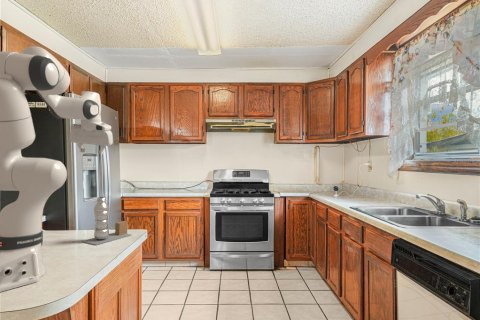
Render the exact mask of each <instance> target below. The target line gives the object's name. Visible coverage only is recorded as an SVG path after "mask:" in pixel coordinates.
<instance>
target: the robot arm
mask: <svg viewBox="0 0 480 320" xmlns="http://www.w3.org/2000/svg"><path fill="white" fill-rule="evenodd" d="M70 84H71V77H70V74H69V72H68V70H67V69H66V68H65V67H64V66H63V65H62V63H61V62H60V61H59V60H58V58H56V57H55V56H54V55H53V54H51V53H50V52H49V51H48V50H46V49H45V48H43V47H41V46H36V45H31V46H27V47H25V48H23V50H22V51H21V52H20V53H19V52H17V51H0V191H4V192H7V191H9V192H11V191H13V192H14V191H15V192H16V191H17V192H19V193H18V197H17V199H16V200H15V201H13V202H11V203H9V204H7V205H5V206H4V207H3V208H2V209H0V210H1V211H0V293H1V292H2V293H3V292H6V291H8V290H12V289H15V288H19V287H22V286H26V285H30V284H34V283H37V282H39V281H40V279H41V278H42V277H43V276H44V275H45V274H46V273H47V270H46V266H45V263H44V257H43V249H42V246H43V241H44V231H43V230H42V225H43V214H44V208H45V205H46V203H47V201H48V199H49V197H51V195H52V194H53V193H54V192H56V191H57V190H59V189H60V188H62V187H63V185H64V184H65V182H66V180H67V178H68V172H67V171H68V170H67V168H66V166H65V164H64V163H63V162H62V161H60V160H57V159H53V158H47V157H25V156H22V150H23V149H25V148H27V147H29V146H30V145H32V144H33V143H34V141H35V139H36V132H35V127H34V123H33V118H32V112H31V109H30V105H29V103H28V100H27V97H26V95H25V92H26V91H35V92H36V93H37V95H38V96H39V97H40V98H41V100H42V101H43V102H44V104H45V105H46V106H47V107H48V110H49V112H50V114H51V115H52V116H53V117H54V118H56V119H69V120H80V123H73V124H71V125H70V133H69V141H70V142H71V143H74V144H77V147H78V148H79V153H85V151H86V149H85V148H84V146H83V144H86V145H95V146H100V149H99V150H98V155H103V154H104V150H105V148H106V147H110V146H112V145H113V144H114V137H113V132H112V131H111V130H112V126H111V124H110V125H109V124H107V123H105V122H103V121H102V117H101V113H102V104H101V103H102V101H101V96H100V94H99V93H98V92H97V91H96V92H95V91H92V90H82V91H81V93H80V94H81V95H80V96H79V97H73V96H64V95H63V96H62V95H61V94H63V93H65V92H66V91H67V90H68V89H69V86H70Z"/></svg>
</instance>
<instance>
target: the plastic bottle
mask: <svg viewBox="0 0 480 320" xmlns="http://www.w3.org/2000/svg"><path fill="white" fill-rule="evenodd" d="M96 202H97V203H96V204H95V205H94V207H93V212H94V218H95V219H94V220H95V221H94V222H95V223H94V232H93V238H95V239H98V240H100V239H106V238H108V236H109V234H110V230H109V221H108V219H109V209H110V207H109V204H107V198H106V196H98V197H97V198H96Z"/></svg>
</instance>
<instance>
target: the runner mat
mask: <svg viewBox="0 0 480 320" xmlns="http://www.w3.org/2000/svg"><path fill="white" fill-rule="evenodd" d="M114 227H115V228H114V230H115V231H114V232H111V233H109V236H108V238H106V239H100V240H98V239H95V237H92V238H88V239H85V240H81V242H82V243H83V244H88V245H93V246H99V245H103V244H107V243H109V242H113V241H118V240H121V239H124V238H126V237H130V236H132V234H131V233H128V221H125V220H124V221H123V220H122V221H117V222H115V224H114Z"/></svg>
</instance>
